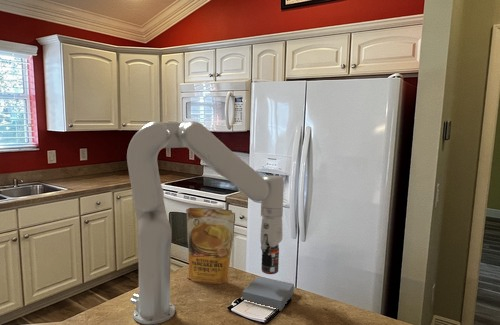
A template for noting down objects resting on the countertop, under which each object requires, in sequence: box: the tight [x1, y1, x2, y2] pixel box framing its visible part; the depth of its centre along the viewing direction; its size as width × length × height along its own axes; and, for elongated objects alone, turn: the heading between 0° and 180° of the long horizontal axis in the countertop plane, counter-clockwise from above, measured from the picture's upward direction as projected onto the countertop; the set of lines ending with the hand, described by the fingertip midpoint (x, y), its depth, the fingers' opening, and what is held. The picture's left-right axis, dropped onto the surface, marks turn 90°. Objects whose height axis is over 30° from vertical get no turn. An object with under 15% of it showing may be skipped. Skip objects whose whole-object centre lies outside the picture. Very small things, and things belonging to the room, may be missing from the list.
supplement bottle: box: [260, 244, 280, 275], centre depth 118 cm, size 6×6×11 cm
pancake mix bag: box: [185, 207, 236, 285], centre depth 130 cm, size 7×19×28 cm, turn 80°
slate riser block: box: [241, 275, 295, 312], centre depth 119 cm, size 14×14×4 cm
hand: (270, 261), depth 118 cm, fingers closed on supplement bottle, 5 cm apart
